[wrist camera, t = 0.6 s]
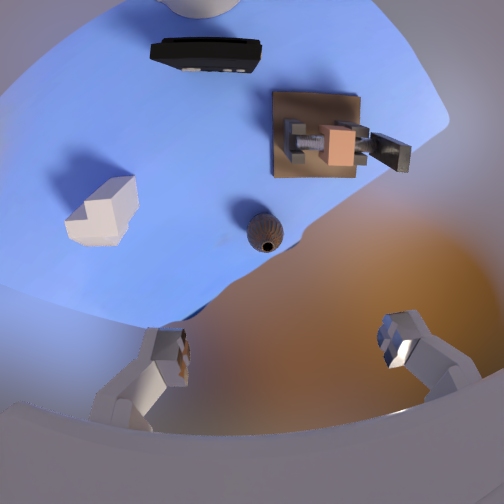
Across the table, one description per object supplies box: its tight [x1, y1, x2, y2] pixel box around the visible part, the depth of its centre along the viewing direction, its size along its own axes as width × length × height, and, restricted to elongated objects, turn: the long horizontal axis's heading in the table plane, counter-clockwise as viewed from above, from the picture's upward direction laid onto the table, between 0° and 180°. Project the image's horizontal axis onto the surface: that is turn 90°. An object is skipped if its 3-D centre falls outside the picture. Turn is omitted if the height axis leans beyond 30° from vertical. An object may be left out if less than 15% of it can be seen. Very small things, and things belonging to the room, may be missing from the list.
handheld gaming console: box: [150, 37, 262, 73], centre depth 31 cm, size 12×5×20 cm, turn 85°
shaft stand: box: [272, 92, 369, 178], centre depth 43 cm, size 16×16×10 cm
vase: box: [247, 214, 284, 253], centre depth 53 cm, size 7×7×9 cm
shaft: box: [295, 132, 412, 173], centre depth 38 cm, size 4×15×10 cm, turn 92°
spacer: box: [318, 125, 356, 166], centre depth 40 cm, size 5×4×6 cm
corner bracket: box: [64, 175, 139, 246], centre depth 47 cm, size 11×11×12 cm
